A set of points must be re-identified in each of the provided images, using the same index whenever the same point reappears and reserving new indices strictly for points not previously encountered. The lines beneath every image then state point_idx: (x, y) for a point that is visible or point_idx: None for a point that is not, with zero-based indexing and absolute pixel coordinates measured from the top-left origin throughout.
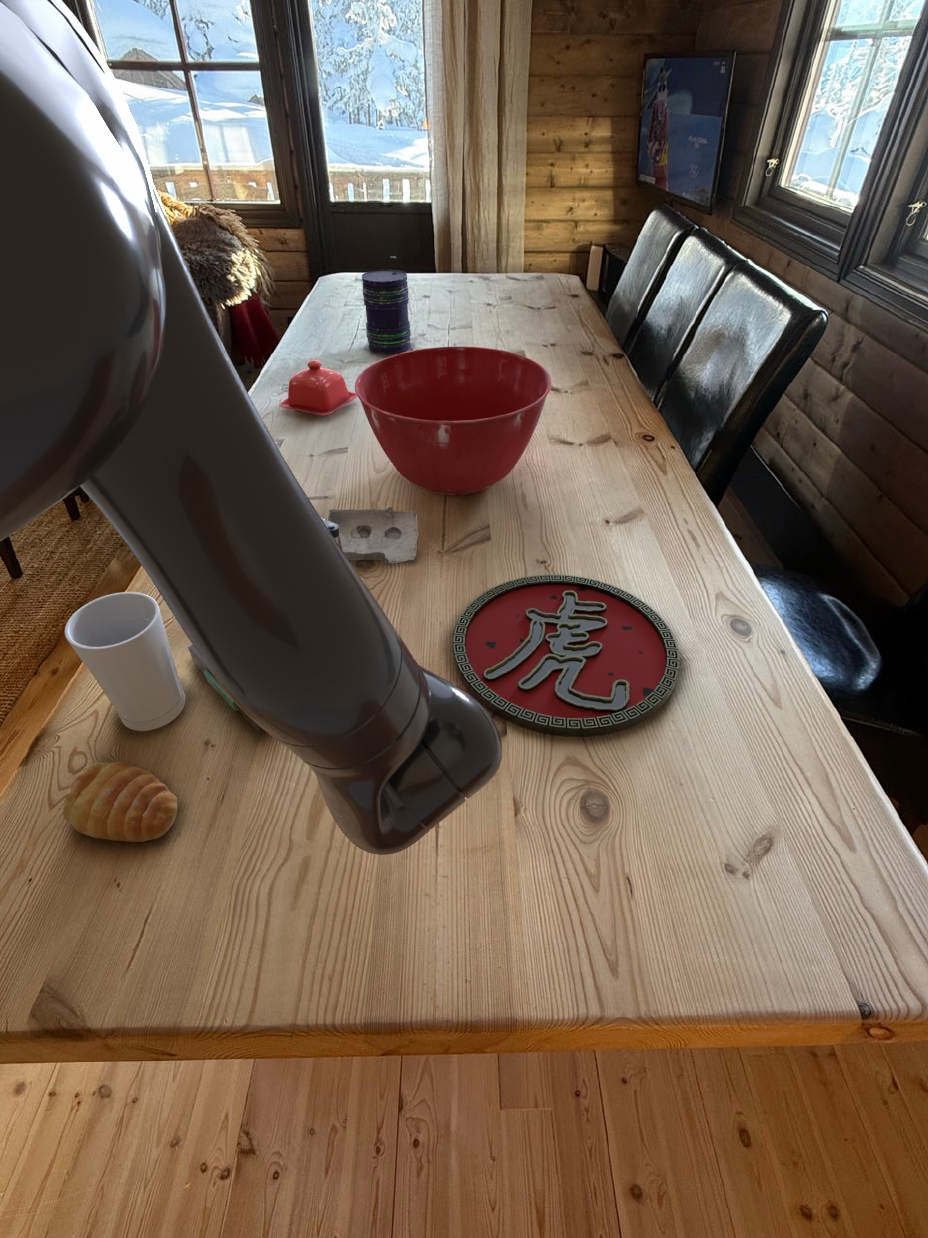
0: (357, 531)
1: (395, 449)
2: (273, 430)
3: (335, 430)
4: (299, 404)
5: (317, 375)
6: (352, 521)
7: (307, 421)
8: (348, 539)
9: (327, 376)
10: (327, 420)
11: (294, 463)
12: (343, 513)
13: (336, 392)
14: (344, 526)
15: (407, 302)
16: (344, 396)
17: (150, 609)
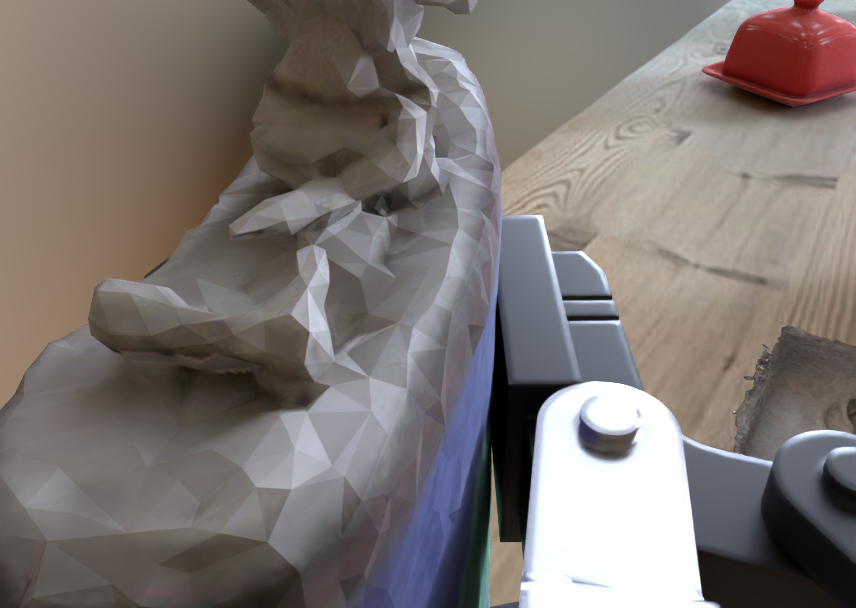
0: (846, 413)
1: None
2: (675, 111)
3: (812, 138)
4: (745, 73)
5: (808, 20)
6: (840, 379)
7: (751, 109)
8: (813, 430)
9: (830, 25)
10: (796, 116)
11: (701, 182)
12: (822, 349)
13: (837, 63)
14: (809, 385)
15: None
16: (849, 76)
17: None
